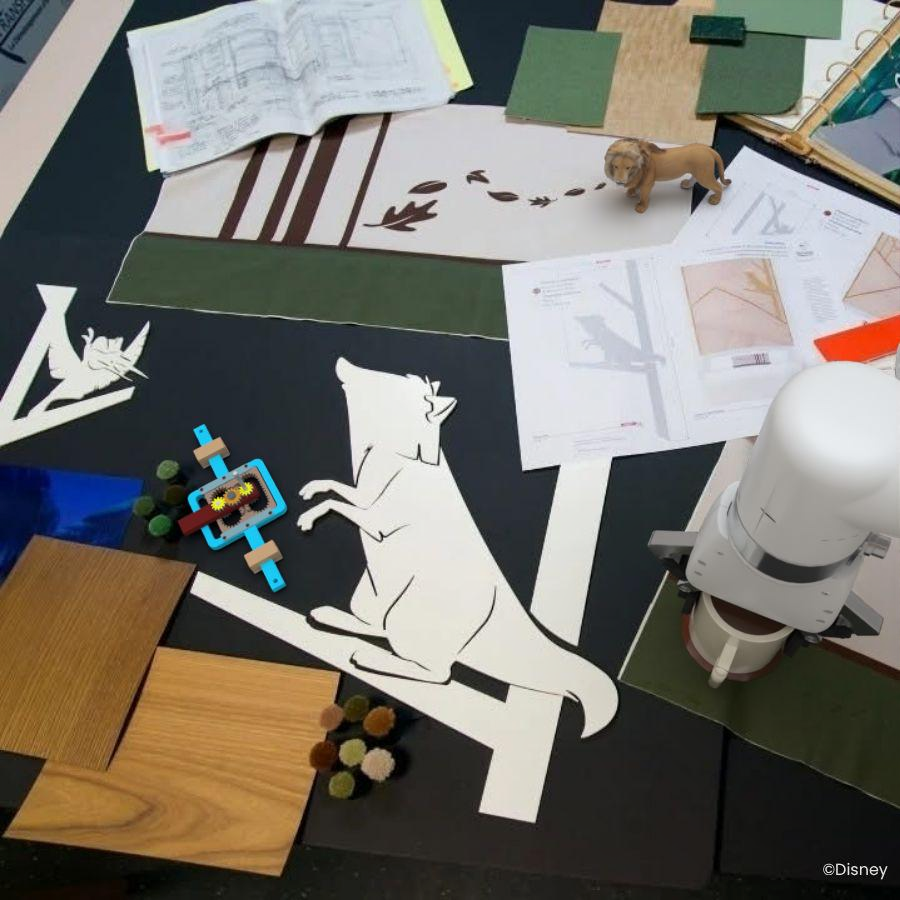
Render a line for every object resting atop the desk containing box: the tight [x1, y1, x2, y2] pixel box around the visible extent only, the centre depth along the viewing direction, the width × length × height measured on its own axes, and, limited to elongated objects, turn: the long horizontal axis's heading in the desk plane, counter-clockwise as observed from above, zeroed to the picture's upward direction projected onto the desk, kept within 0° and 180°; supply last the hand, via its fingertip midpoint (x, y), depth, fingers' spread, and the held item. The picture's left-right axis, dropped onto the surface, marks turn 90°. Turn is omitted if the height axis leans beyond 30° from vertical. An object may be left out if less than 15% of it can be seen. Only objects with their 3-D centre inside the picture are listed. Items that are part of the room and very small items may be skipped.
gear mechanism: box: [177, 423, 288, 593], centre depth 80 cm, size 20×5×9 cm
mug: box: [688, 590, 795, 689], centre depth 66 cm, size 10×7×8 cm
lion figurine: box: [603, 137, 733, 213], centre depth 92 cm, size 15×5×9 cm, turn 100°
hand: (740, 617), depth 67 cm, fingers closed on mug, 7 cm apart
